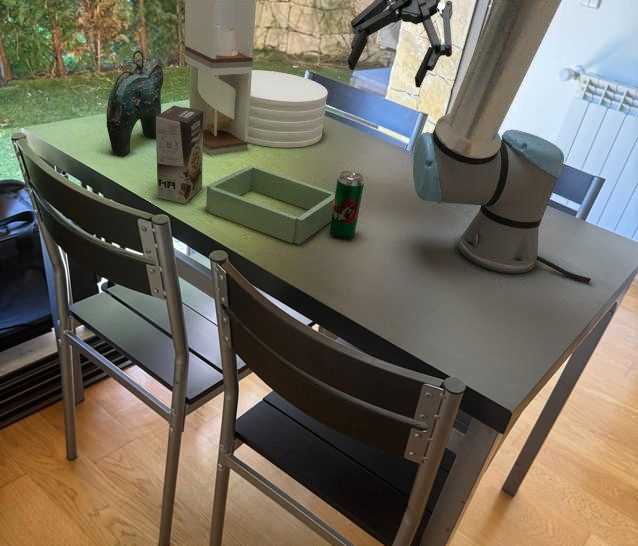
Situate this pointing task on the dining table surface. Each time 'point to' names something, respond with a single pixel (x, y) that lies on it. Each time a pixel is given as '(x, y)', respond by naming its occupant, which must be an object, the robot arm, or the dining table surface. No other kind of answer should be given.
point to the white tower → (221, 69)
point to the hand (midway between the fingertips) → (383, 74)
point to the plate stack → (285, 110)
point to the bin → (265, 219)
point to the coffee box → (179, 153)
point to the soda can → (346, 204)
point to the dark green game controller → (134, 104)
